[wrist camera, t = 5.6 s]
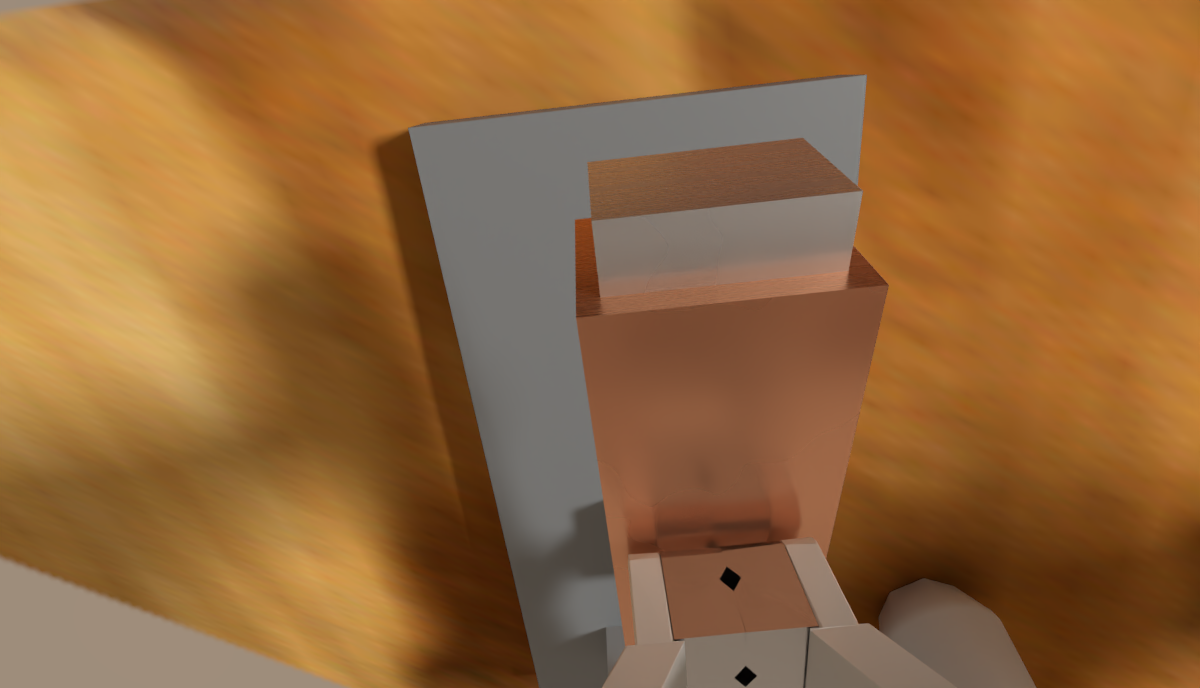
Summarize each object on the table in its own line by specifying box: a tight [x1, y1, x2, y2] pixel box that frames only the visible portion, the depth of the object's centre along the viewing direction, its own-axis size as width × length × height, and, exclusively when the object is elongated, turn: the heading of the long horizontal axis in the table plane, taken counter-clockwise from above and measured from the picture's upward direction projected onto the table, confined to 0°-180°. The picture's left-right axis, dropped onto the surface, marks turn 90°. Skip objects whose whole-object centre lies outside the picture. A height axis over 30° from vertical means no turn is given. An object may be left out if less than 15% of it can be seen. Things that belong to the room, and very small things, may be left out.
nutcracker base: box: [408, 75, 867, 688], centre depth 20 cm, size 28×14×11 cm, turn 6°
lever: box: [575, 138, 889, 646], centre depth 15 cm, size 26×4×4 cm, turn 6°
